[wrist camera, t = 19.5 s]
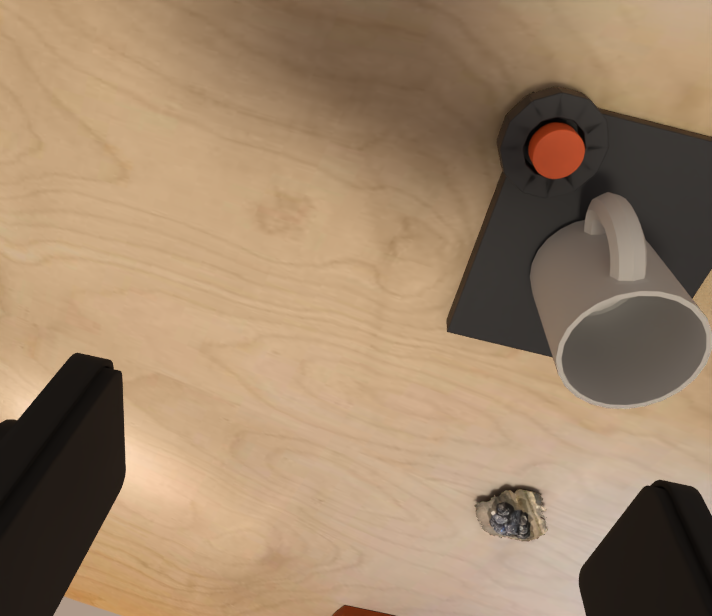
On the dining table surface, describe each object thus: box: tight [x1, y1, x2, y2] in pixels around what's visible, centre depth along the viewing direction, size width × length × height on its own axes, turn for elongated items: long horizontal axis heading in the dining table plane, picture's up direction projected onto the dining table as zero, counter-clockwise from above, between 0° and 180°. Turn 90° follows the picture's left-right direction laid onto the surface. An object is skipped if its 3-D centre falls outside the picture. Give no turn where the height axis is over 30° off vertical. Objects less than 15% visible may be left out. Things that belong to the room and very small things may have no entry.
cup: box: [530, 192, 712, 409], centre depth 31 cm, size 7×10×9 cm
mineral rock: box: [475, 489, 548, 541], centre depth 49 cm, size 7×8×2 cm
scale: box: [447, 86, 712, 357], centre depth 34 cm, size 17×15×3 cm
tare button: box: [528, 122, 585, 179], centre depth 30 cm, size 3×3×2 cm
